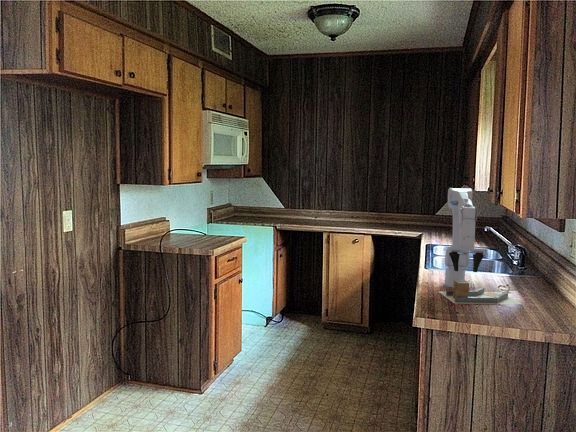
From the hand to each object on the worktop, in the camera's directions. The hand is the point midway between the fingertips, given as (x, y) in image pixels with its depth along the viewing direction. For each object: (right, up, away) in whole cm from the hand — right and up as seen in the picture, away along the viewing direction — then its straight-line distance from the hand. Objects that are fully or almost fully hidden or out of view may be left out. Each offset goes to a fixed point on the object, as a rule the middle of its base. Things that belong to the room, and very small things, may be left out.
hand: (465, 271), depth 196 cm
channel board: (+7, -12, +6) cm, 15 cm away
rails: (+7, -12, +6) cm, 15 cm away
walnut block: (-1, -11, +3) cm, 12 cm away
